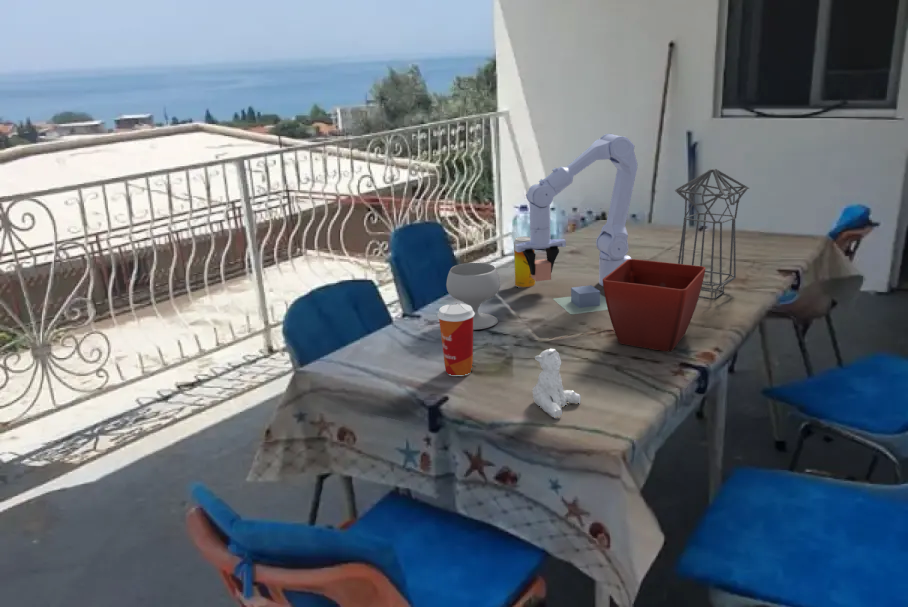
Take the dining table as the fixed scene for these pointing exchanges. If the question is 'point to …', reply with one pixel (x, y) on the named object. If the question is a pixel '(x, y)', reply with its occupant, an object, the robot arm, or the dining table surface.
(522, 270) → the beer can
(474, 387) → the dining table surface
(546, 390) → the seated beast figurine
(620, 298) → the plant pot
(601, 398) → the dining table surface
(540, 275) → the top brick
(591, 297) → the base brick
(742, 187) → the geometric lantern
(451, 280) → the chalice
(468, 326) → the coffee cup
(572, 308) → the plate
